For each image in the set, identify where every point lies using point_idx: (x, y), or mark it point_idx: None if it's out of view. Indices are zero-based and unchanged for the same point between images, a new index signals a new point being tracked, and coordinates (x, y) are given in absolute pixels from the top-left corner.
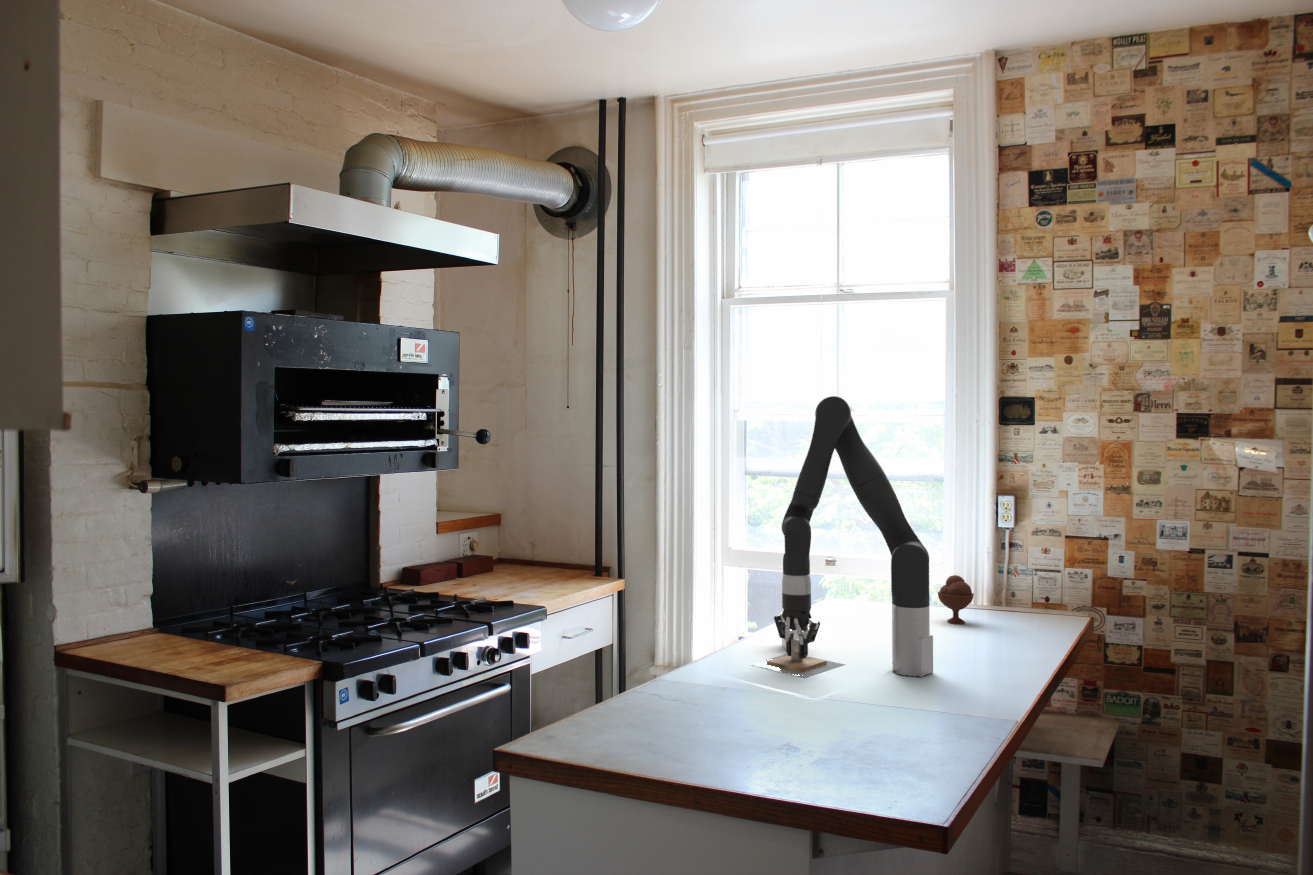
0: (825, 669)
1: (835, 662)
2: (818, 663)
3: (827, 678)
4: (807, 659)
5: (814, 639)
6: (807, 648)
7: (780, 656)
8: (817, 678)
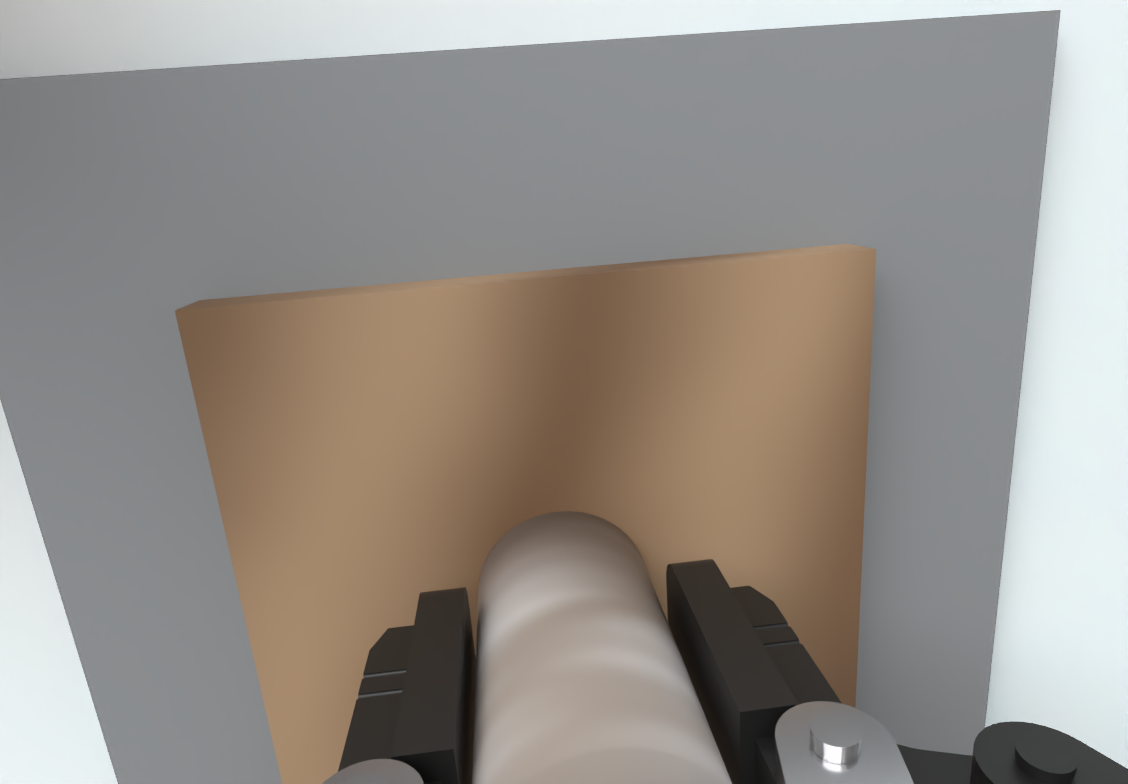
0: (965, 451)
1: (878, 29)
2: (864, 457)
3: (1110, 636)
4: (615, 417)
5: (1117, 780)
6: (812, 671)
7: (46, 415)
8: (1027, 711)
